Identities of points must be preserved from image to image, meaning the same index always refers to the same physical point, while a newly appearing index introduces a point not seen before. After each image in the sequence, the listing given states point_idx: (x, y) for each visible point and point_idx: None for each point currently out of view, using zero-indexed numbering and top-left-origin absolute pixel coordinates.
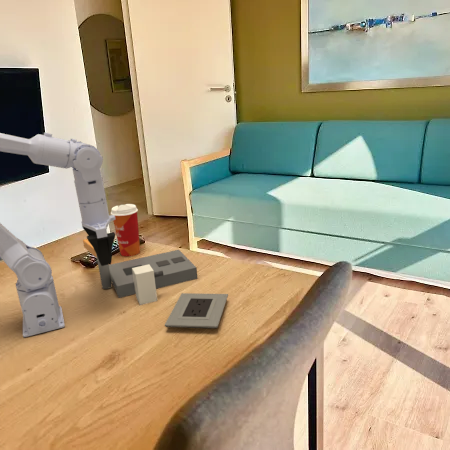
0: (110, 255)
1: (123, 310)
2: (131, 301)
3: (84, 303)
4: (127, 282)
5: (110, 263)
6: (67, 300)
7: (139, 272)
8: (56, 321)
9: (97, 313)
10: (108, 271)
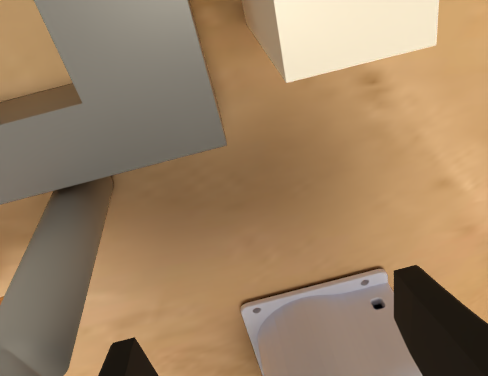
0: (478, 322)
1: (356, 84)
2: None
3: (226, 243)
4: (190, 89)
5: (424, 271)
6: (181, 298)
7: (410, 11)
8: (391, 300)
9: (332, 186)
10: (80, 219)
